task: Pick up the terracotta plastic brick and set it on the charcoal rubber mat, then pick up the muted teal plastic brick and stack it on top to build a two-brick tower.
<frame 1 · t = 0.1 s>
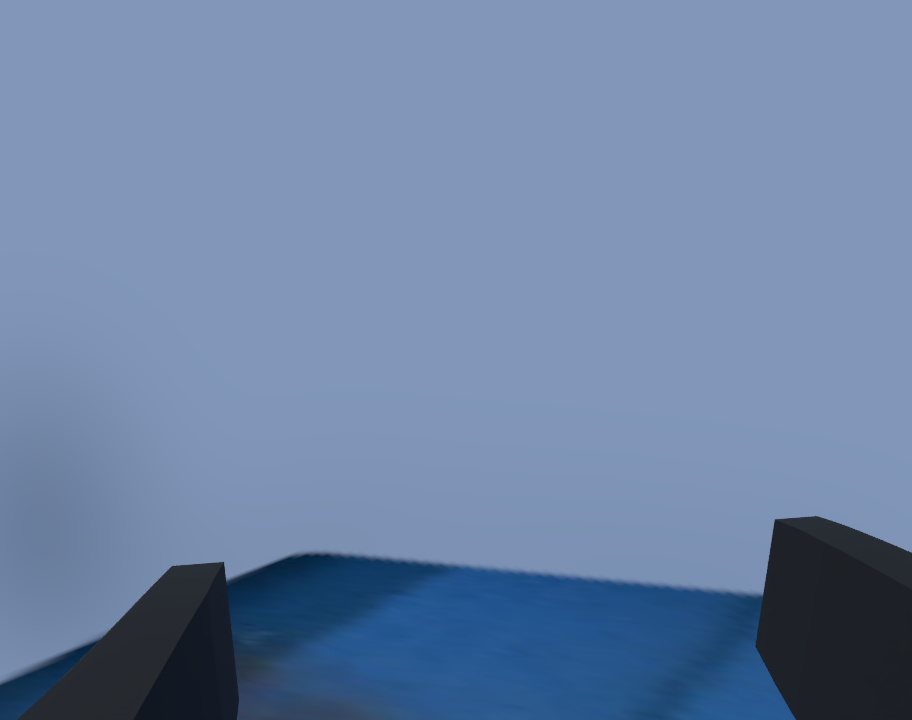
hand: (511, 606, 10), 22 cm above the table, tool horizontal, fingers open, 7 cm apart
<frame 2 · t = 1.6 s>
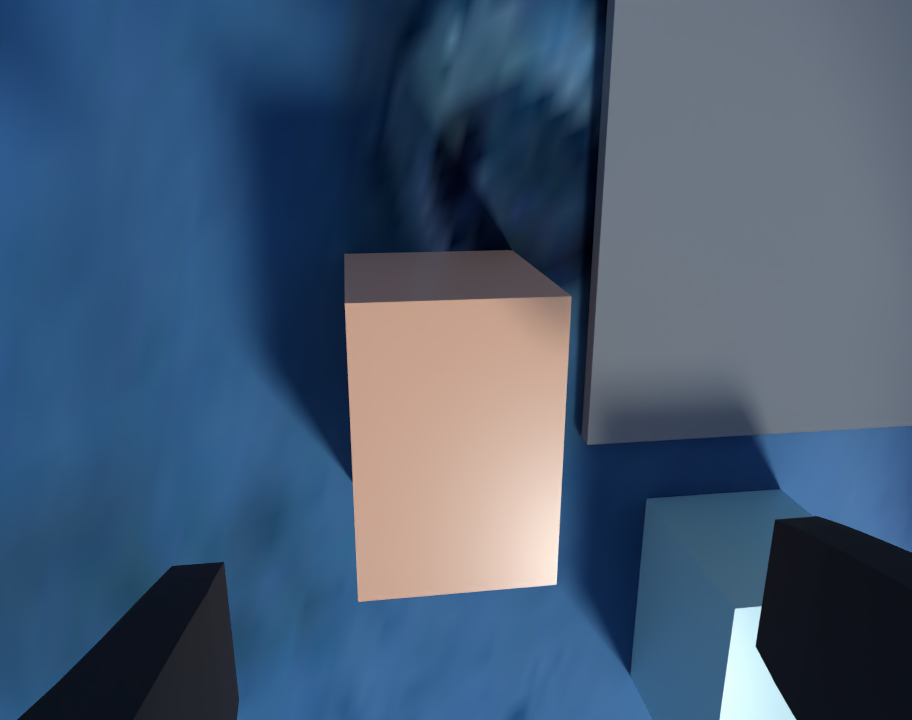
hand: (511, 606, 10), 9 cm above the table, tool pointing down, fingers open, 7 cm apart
teal brick: (701, 583, 22), on the table
terracotta brick: (430, 370, 19), on the table
build mat: (862, 203, 19), on the table
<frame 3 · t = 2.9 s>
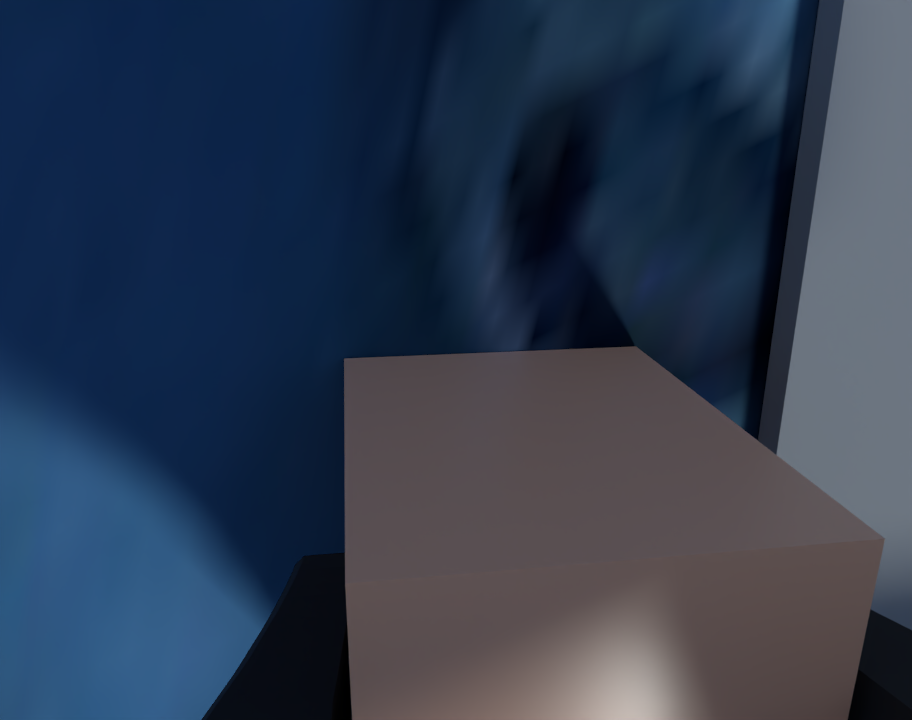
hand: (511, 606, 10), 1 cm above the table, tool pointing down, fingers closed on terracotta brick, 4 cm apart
terracotta brick: (490, 546, 11), on the table, touching gripper
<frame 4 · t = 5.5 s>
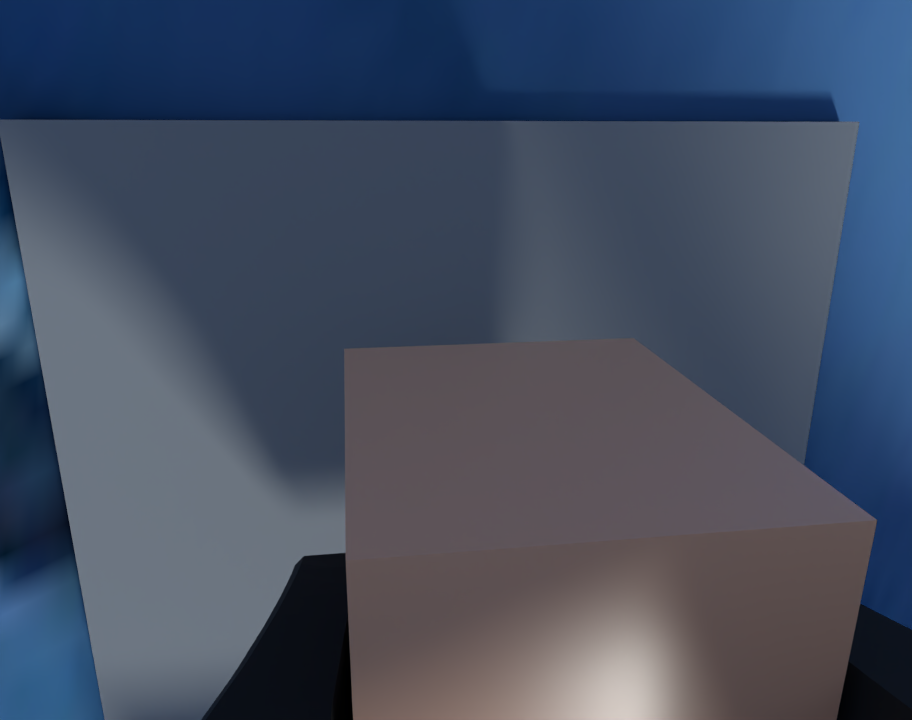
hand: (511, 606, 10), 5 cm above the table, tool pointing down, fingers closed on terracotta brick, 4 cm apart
terracotta brick: (488, 536, 11), point 3 cm above the table, touching gripper
build mat: (457, 447, 14), on the table
when the fingers open (3 cm above the table, at t = 6.2 s): terracotta brick drops 1 cm, resting on build mat.
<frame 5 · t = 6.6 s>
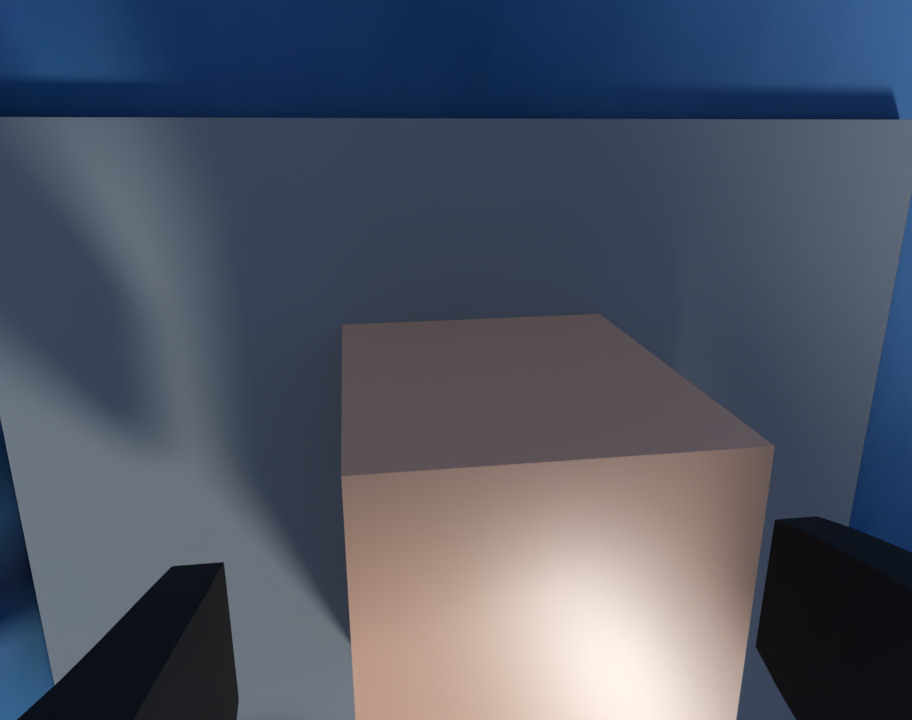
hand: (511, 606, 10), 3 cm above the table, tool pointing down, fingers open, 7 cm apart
terracotta brick: (473, 494, 12), resting on build mat
build mat: (469, 484, 13), on the table
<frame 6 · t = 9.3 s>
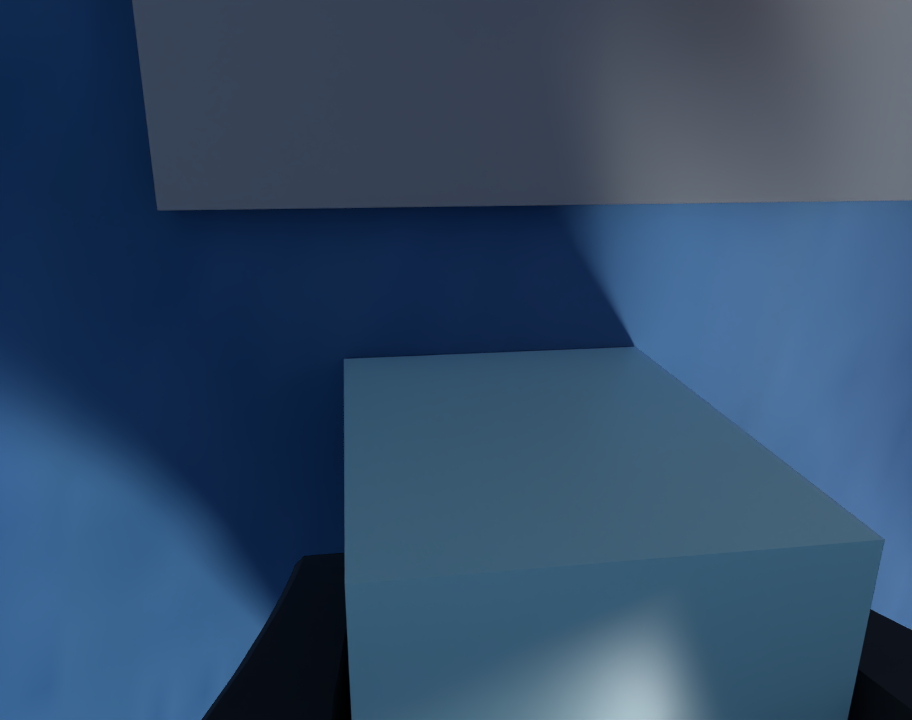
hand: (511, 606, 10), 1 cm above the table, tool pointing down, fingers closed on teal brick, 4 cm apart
teal brick: (490, 546, 11), on the table, touching gripper
when the fingers open (8 cm above the table, at t = 12.1 s): teal brick stays where it is, resting on terracotta brick.
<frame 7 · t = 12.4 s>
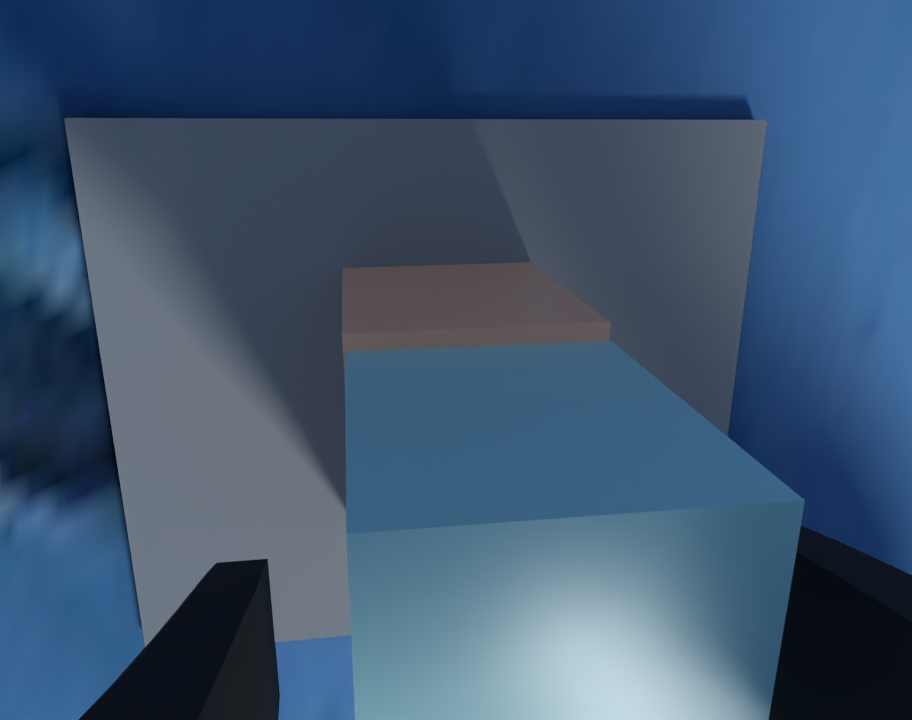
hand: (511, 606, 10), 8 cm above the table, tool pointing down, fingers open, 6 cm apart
teal brick: (478, 524, 12), point 5 cm above the table, touching terracotta brick
terracotta brick: (439, 398, 16), resting on build mat, touching teal brick
build mat: (437, 393, 17), on the table
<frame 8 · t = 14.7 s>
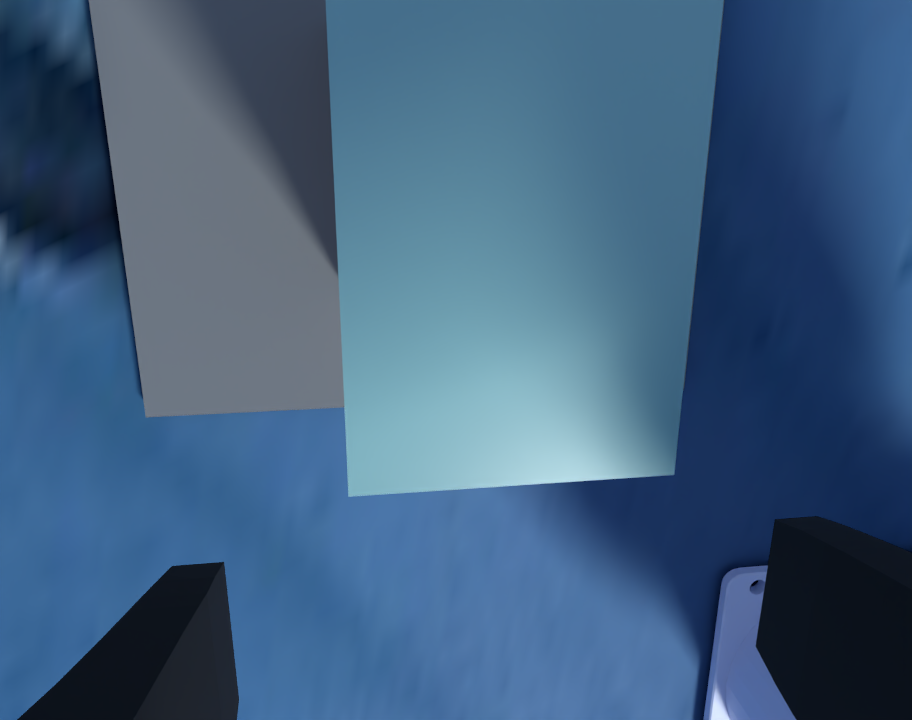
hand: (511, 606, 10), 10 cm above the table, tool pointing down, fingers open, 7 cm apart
teal brick: (456, 192, 13), point 5 cm above the table, touching terracotta brick
build mat: (423, 162, 18), on the table
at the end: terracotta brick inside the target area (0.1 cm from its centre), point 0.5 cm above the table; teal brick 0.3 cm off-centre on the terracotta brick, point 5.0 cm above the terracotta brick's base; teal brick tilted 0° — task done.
